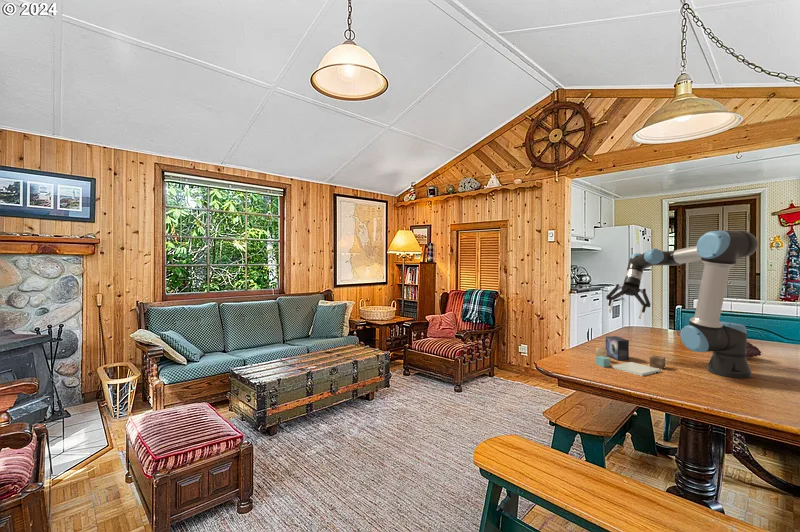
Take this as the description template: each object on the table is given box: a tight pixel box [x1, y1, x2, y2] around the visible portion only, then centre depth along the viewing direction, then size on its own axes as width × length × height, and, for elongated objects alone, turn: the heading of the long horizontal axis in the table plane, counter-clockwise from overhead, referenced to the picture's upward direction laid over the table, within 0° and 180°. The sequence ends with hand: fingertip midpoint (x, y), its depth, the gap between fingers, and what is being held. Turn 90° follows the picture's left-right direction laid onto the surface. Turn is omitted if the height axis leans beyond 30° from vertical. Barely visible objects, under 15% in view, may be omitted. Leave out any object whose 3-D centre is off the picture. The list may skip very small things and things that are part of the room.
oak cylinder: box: [595, 347, 608, 358], centre depth 196 cm, size 5×5×6 cm
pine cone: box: [746, 341, 762, 358], centre depth 197 cm, size 18×10×10 cm, turn 8°
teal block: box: [595, 356, 611, 368], centre depth 187 cm, size 5×4×4 cm
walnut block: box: [649, 355, 666, 370], centre depth 183 cm, size 5×5×5 cm
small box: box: [605, 335, 630, 362], centre depth 201 cm, size 11×6×10 cm, turn 5°
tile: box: [611, 361, 662, 377], centre depth 179 cm, size 14×14×1 cm
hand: (624, 314), depth 199 cm, fingers open, 13 cm apart
